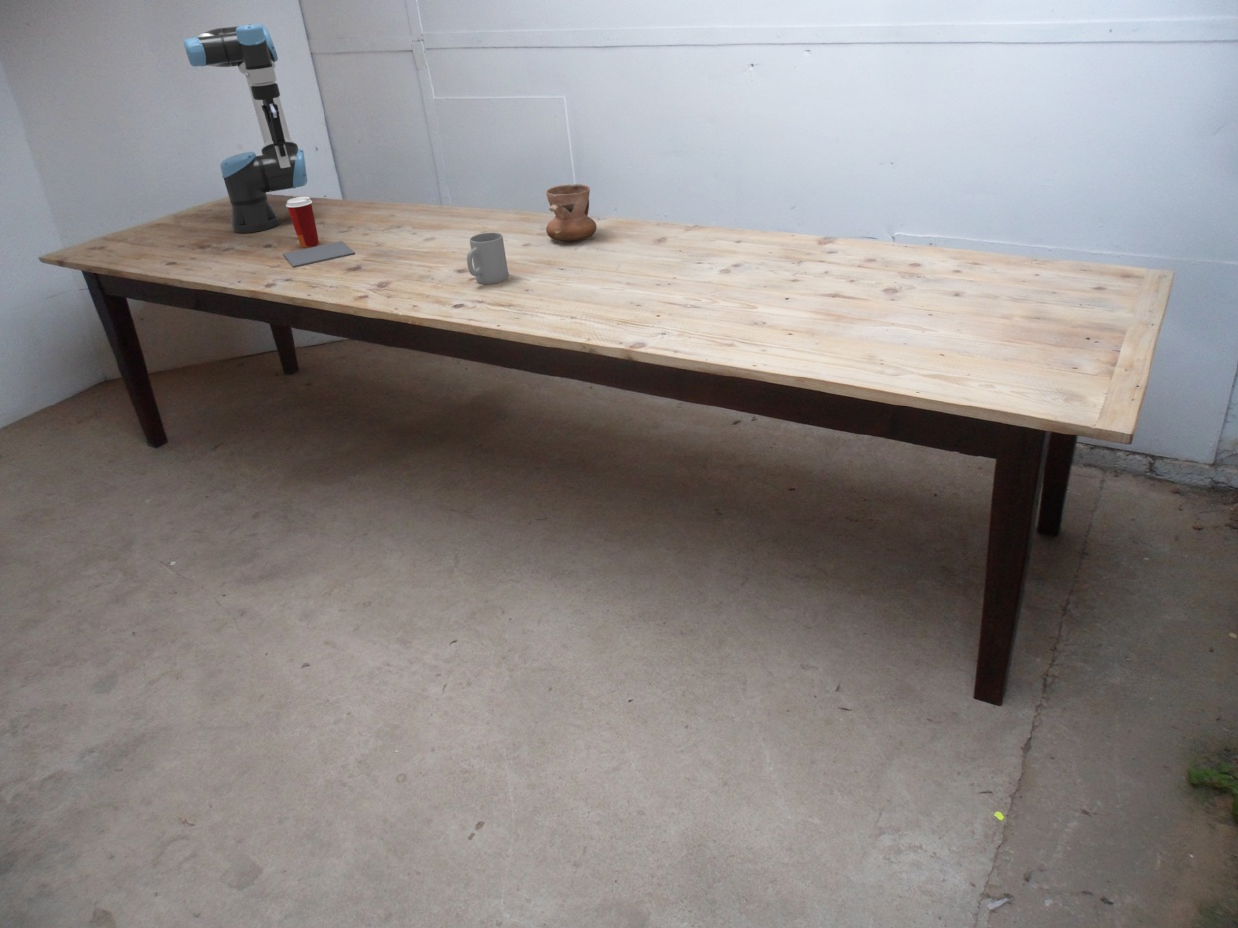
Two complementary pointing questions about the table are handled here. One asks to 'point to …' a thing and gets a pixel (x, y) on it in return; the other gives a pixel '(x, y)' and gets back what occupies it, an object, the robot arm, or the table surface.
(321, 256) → the rubber mat
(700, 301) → the table surface
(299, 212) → the paper cup
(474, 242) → the mug
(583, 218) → the ceramic jug
